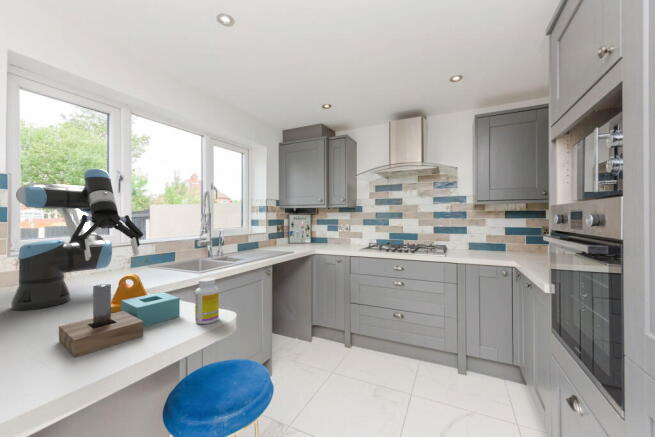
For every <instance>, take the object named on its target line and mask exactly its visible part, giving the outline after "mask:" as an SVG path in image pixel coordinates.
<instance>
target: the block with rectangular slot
mask: <svg viewBox="0 0 655 437" xmlns="http://www.w3.org/2000/svg"><path fill="white" fill-rule="evenodd" d="M121 311H125V312H127V313H129V314H131V315H133V316H135V317H137V318H138V319H140V320H142V321H143V328H145V327H147V326H150V325H154V324H156V323H157V324H158V323H161V322H165V321H168V320H172V319H175V318H178V317H177V316H179V317H180V314H181V310H180V297H179V296H176V295H173V294H169V293H166V292H163V291H160V292H156V293H151V294H147V295H145V296H141V297H136V298H131V299H126V300H121Z"/></svg>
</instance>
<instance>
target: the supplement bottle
mask: <svg viewBox="0 0 655 437" xmlns="http://www.w3.org/2000/svg"><path fill="white" fill-rule="evenodd" d="M215 284H216V278H215V277H205V278H200V279H199V280H198V285H199V287H198V288H196V289H195V291H194V293H195V294H194V296H195V298H194V300H195V301H194V302H195V303H194V304H195V306H194V307H195V308H194V309H195V310H194V311H195V313H194V315H195V318H194V319H195V323H196V324H200V325H209V324H212V323H215V322H217V321H218V320H219V316H220V313H219V312H220V311H219V310H220V309H219V308H220V307H219V306H220V305H219V303H220V302H219V300H220V298H219V296H220V295H219V288H218V286H216V285H215Z"/></svg>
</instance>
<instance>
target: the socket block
mask: <svg viewBox="0 0 655 437" xmlns="http://www.w3.org/2000/svg"><path fill="white" fill-rule="evenodd" d="M143 336H144V327H143V321H142V320H140V319H138V318H137V317H135V316H133V315H131V314H129V313H127V312H125V311H121V312H117V313H116V312H112V313H111V324H110V325H106V326H102V327H98V328H94V329H93V317H92V318H87V319H84V320H79V321H75V322H74V321H73V322H70V323H67V324H61V325H59V326H58V342H59V343H60V344H61V345H62V346H63V347H64V349H66V351H67V352H68V353H70V355H71V356H72V357H73V358H77V357H79V356H83V355H87V354H89V353H92V352H97V351H99V350H102V349H105V348H109V347H111V346H116V345H118V344H122V343H125V342H128V341H131V340H134V339H137V338H141V337H143Z"/></svg>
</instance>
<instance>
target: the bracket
mask: <svg viewBox="0 0 655 437" xmlns="http://www.w3.org/2000/svg"><path fill="white" fill-rule="evenodd" d="M127 280H130V281H131V282H133V284H131V285H130V284H128V283H127ZM117 285H118V286H117V289H116V290H115V293H114V295H113V297H112V298H111V314H112V313H117V312H121V300H126V299H131V298H136V297H141V296H145V295H148V293H147V290H146V289H145V287H144V284H143V282H142V281H141V278H140V276H139V275H137V274H136V273H128V274H125V275H124V276H123V277H122V278H121V279H120V280H119V281H118V284H117Z"/></svg>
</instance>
